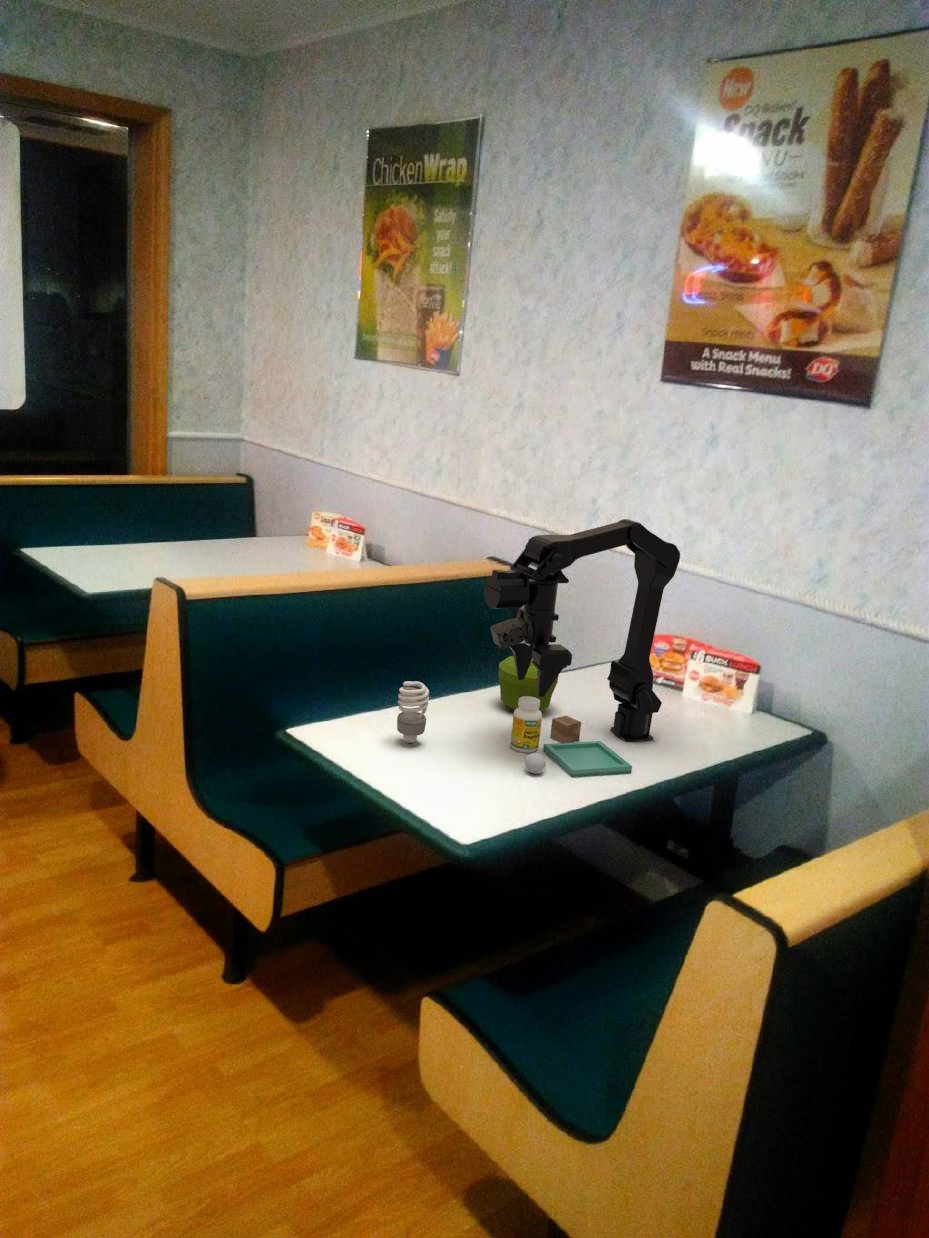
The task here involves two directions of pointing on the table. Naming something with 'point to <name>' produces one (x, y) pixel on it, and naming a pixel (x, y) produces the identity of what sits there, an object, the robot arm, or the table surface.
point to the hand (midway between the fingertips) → (530, 687)
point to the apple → (521, 685)
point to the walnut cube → (565, 729)
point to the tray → (587, 759)
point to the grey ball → (535, 763)
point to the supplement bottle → (526, 725)
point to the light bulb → (412, 710)
